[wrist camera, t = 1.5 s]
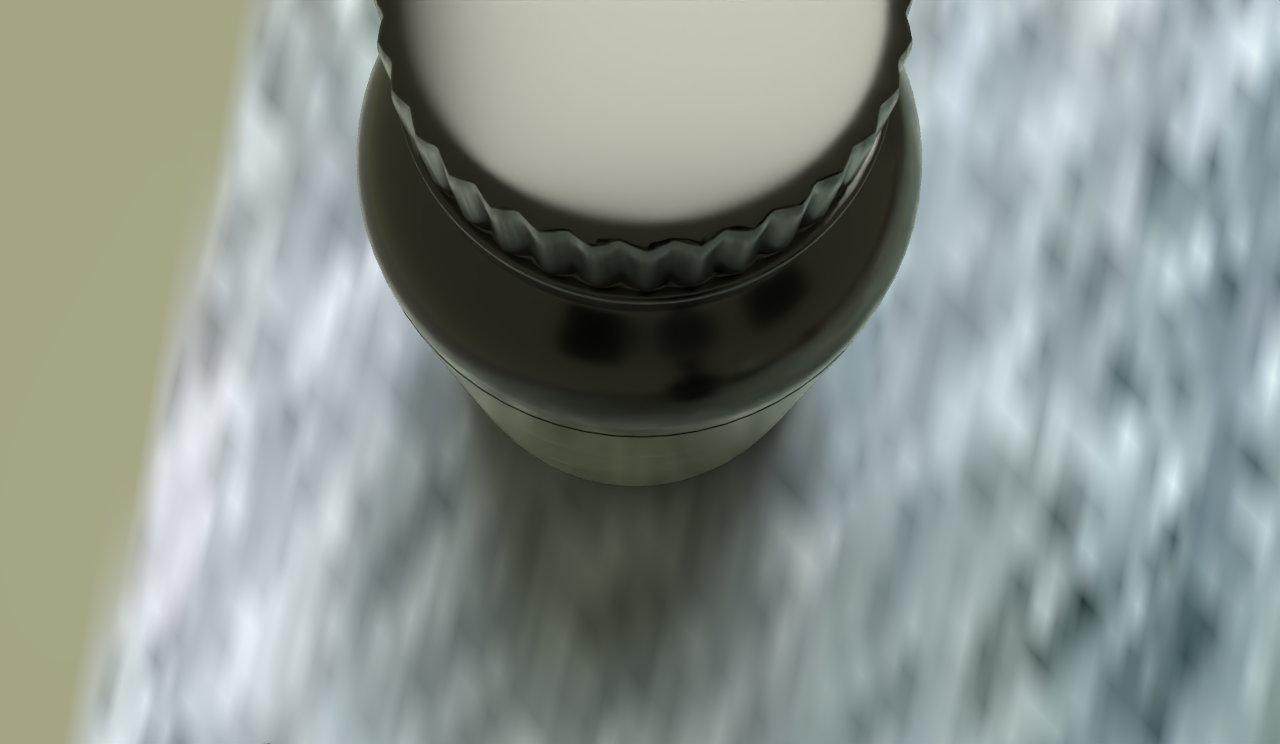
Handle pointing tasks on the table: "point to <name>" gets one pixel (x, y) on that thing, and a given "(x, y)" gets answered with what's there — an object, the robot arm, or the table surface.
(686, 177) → the supplement bottle
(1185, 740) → the table surface
